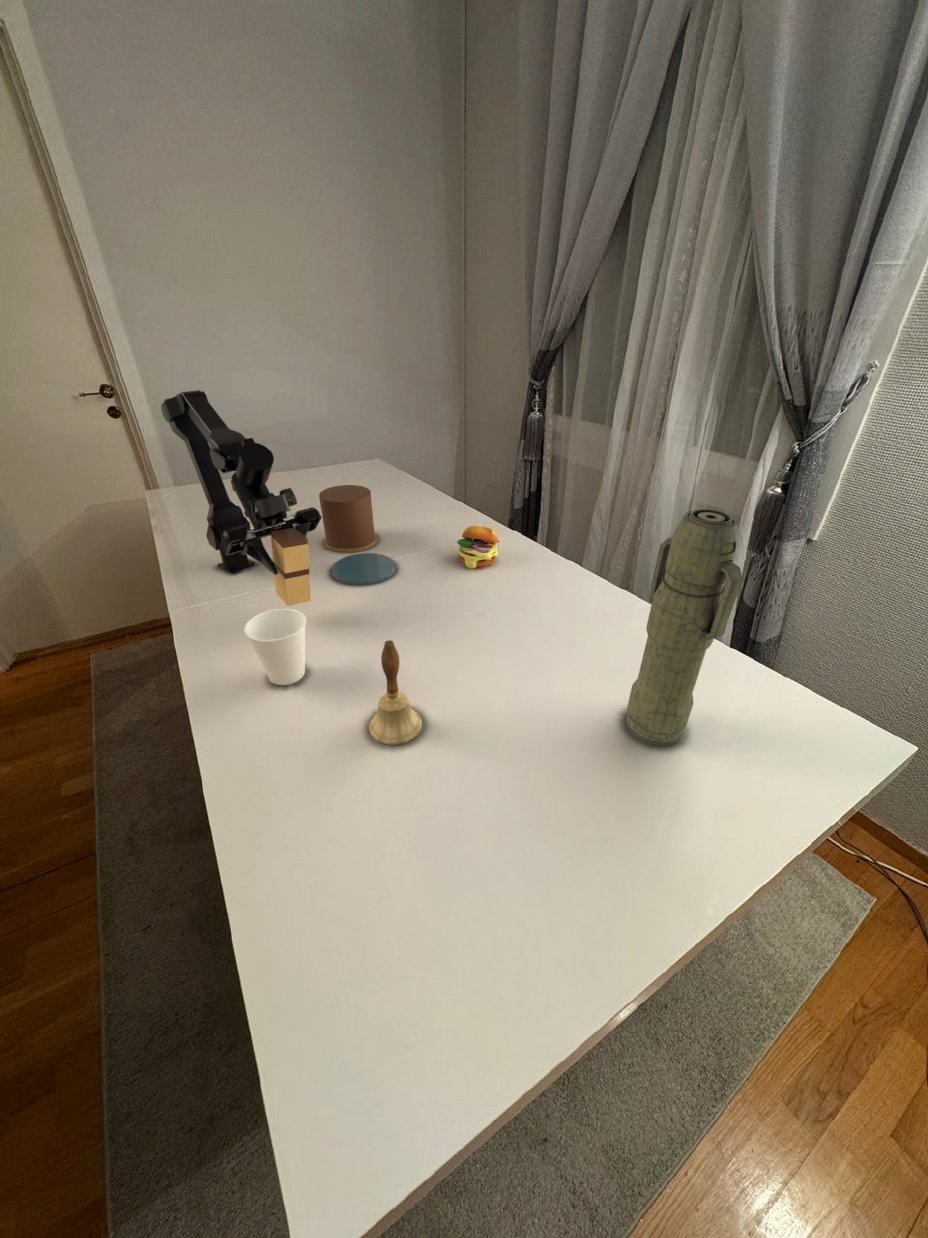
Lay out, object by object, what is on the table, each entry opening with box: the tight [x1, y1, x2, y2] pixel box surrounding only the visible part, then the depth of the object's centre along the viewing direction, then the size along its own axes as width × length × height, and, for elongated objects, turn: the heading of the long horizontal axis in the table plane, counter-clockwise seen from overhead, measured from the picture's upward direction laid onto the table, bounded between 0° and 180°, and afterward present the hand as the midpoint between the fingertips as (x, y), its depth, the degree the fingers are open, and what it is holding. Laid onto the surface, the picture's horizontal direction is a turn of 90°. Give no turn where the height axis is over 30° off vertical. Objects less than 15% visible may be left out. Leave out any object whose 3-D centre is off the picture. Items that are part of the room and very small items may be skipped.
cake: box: [318, 484, 378, 553], centre depth 137 cm, size 14×14×13 cm
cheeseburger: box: [456, 525, 500, 569], centre depth 129 cm, size 10×11×10 cm
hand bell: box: [368, 640, 423, 746], centre depth 77 cm, size 8×8×16 cm
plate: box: [331, 552, 396, 586], centre depth 126 cm, size 15×15×1 cm
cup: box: [243, 608, 307, 686], centre depth 89 cm, size 10×10×11 cm
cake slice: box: [270, 528, 312, 607], centre depth 101 cm, size 6×5×13 cm
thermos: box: [624, 508, 744, 747], centre depth 72 cm, size 9×12×35 cm
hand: (292, 569), depth 99 cm, fingers closed on cake slice, 6 cm apart
